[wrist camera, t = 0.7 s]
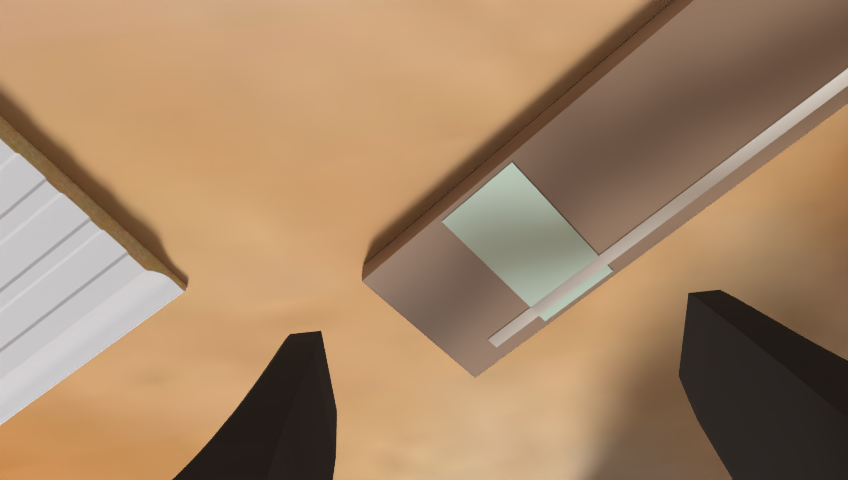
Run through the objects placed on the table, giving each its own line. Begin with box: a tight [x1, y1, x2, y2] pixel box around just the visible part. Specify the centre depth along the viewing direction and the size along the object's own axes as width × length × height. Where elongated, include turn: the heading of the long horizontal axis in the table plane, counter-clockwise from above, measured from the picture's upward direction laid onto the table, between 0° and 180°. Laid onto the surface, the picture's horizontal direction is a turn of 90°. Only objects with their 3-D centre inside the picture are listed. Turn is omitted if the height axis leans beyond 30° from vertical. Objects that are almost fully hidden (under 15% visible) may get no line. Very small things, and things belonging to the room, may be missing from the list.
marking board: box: [362, 0, 848, 378], centre depth 22 cm, size 6×20×1 cm, turn 133°
